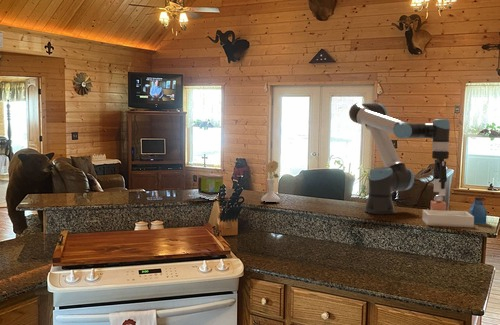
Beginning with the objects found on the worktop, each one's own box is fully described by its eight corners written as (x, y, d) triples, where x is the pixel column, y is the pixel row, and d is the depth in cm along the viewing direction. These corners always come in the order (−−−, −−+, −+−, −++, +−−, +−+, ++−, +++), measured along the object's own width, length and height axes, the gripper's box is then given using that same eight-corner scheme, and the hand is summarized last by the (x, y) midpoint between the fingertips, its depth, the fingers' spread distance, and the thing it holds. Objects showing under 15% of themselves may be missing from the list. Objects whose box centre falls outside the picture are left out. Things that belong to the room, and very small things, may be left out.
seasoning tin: (430, 217, 237) (430, 200, 236) (442, 217, 236) (443, 201, 235) (432, 219, 231) (433, 202, 231) (445, 220, 230) (446, 203, 229)
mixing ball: (433, 201, 235) (433, 193, 235) (441, 202, 235) (442, 194, 234) (434, 203, 231) (435, 195, 231) (443, 203, 231) (443, 195, 230)
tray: (422, 219, 230) (422, 209, 230) (466, 221, 226) (466, 211, 226) (427, 225, 217) (427, 214, 217) (473, 227, 214) (474, 216, 213)
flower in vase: (257, 201, 279) (257, 159, 277) (273, 200, 285) (274, 159, 283) (268, 205, 268) (269, 161, 266) (285, 203, 273) (286, 160, 271)
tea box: (223, 199, 285) (223, 175, 284) (208, 201, 280) (208, 176, 279) (212, 196, 298) (212, 173, 297) (197, 197, 293) (197, 173, 292)
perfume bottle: (486, 224, 222) (487, 198, 221) (471, 223, 223) (473, 198, 222) (482, 221, 228) (483, 196, 227) (468, 220, 229) (469, 196, 228)
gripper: (454, 151, 218) (453, 197, 219) (443, 149, 242) (441, 190, 244) (437, 151, 219) (436, 197, 221) (427, 149, 244) (426, 190, 245)
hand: (439, 193), depth 232 cm, fingers open, 13 cm apart
